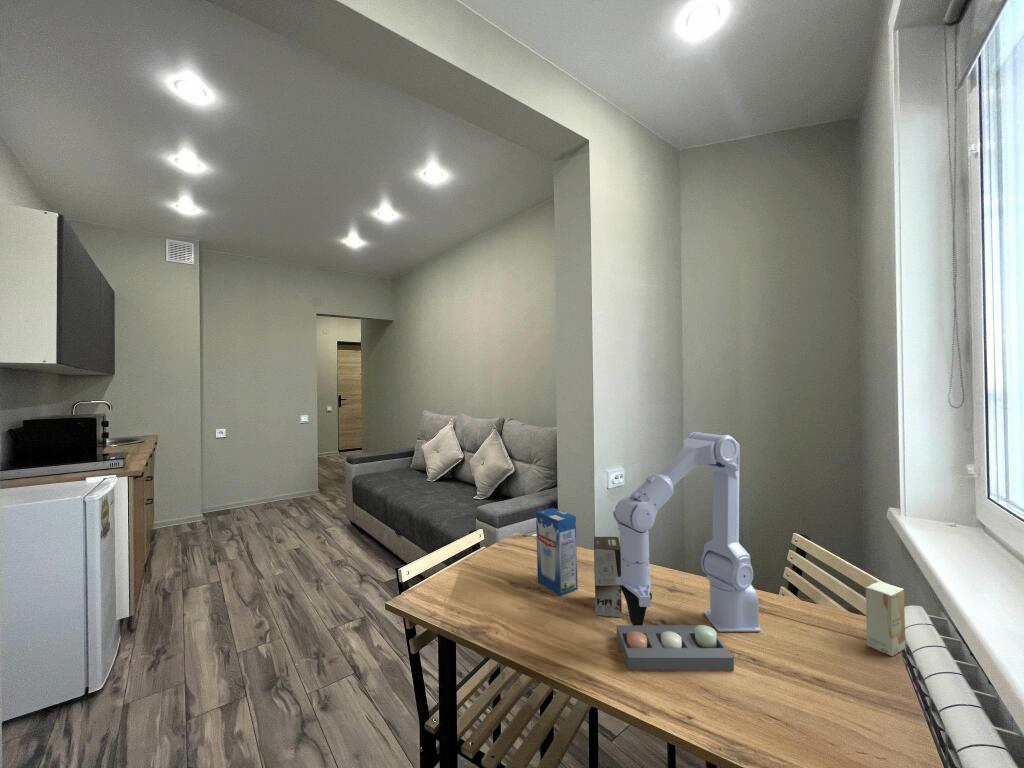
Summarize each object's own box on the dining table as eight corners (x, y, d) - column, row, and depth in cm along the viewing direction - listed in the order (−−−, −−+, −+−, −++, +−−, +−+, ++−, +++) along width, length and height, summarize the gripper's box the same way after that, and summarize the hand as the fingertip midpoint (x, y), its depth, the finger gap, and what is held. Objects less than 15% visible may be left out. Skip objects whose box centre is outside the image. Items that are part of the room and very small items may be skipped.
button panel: (709, 636, 92) (709, 625, 92) (734, 670, 81) (733, 657, 81) (616, 636, 92) (616, 625, 92) (628, 670, 81) (628, 657, 81)
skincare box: (892, 657, 83) (890, 596, 83) (865, 646, 87) (864, 587, 87) (907, 647, 86) (905, 588, 86) (880, 636, 90) (879, 579, 90)
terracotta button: (644, 645, 89) (643, 631, 89) (649, 657, 85) (649, 642, 85) (625, 645, 89) (624, 631, 89) (629, 657, 85) (629, 642, 85)
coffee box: (622, 618, 100) (621, 550, 100) (595, 615, 101) (593, 548, 101) (620, 598, 109) (619, 536, 109) (595, 596, 110) (593, 535, 110)
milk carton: (577, 590, 114) (576, 516, 114) (560, 596, 110) (558, 520, 110) (554, 576, 122) (553, 507, 122) (537, 582, 119) (535, 511, 119)
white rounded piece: (677, 645, 88) (677, 631, 88) (684, 657, 84) (684, 642, 84) (658, 645, 89) (658, 631, 89) (664, 657, 85) (664, 642, 85)
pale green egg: (711, 639, 88) (711, 625, 88) (720, 651, 84) (719, 636, 84) (692, 639, 88) (691, 625, 88) (699, 651, 84) (699, 636, 84)
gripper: (608, 544, 94) (610, 605, 94) (623, 573, 80) (625, 645, 80) (640, 544, 94) (642, 605, 94) (660, 573, 79) (662, 645, 79)
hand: (636, 623), depth 87 cm, fingers closed
